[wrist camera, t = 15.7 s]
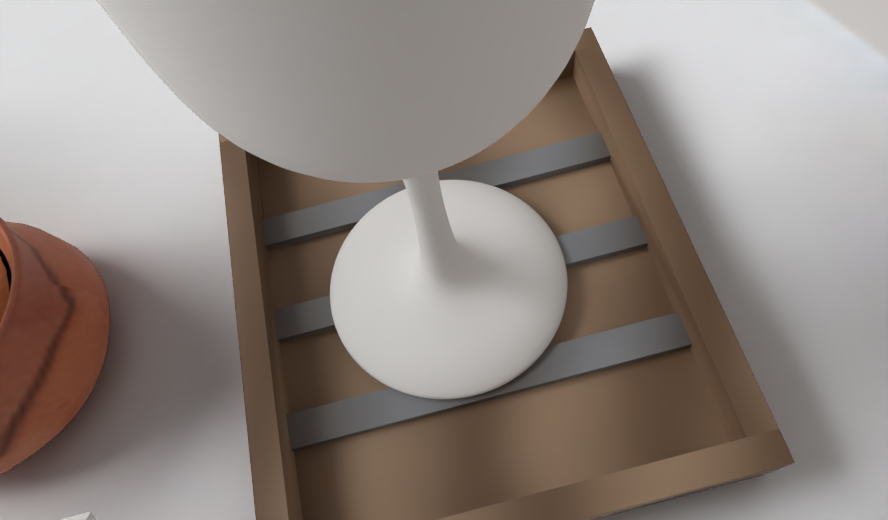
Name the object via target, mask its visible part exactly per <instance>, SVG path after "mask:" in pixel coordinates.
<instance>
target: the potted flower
mask: <svg viewBox="0 0 888 520" xmlns="http://www.w3.org/2000/svg"><path fill="white" fill-rule="evenodd" d="M109 326H110V314H109V300H108V296H107V293H106V289H105V285H104V283H103V281H102V278H101V276H100V274H99V272H98V270H97V269H96V268H95V266H94V265H93V264H92V262H91V261H90V260H89V258H88V257H87V256H85V255H84V254H83V253H82V252H81V251H80V250H78V249H77V248H76V247H74V246H72V245H71V244H69V243H67V242H65V241H63V240H61V239H59V238H57V237H55V236H53V235H51V234H49V233H47V232H45V231H43V230H41V229H38V228H35V227H32V226H29V225H25V224H20V223H12V222H4V220H2V219H1V218H0V474H2V473H4V472H6V471H8V470H10V469H11V468H13V467H14V466H16V465H17V464H19V463H20V462H22V461H23V460H25V459H26V458H28V457H30V456H31V455H32V454H34V453H35V452H36V451H38V450H39V449H41V448H42V447H43V446H44V445H46V444H47V443H48V442H49V441H50V440H52V439H53V438H54V437H55V436H56V435H58V434H59V433H60V432H61V431H62V430H63V429H64V427H65V426H66V425H67V424H68V423H69V422H70V421H71V420H72V419H73V418H74V417H75V415H76V414H77V413H78V411H79V410H80V409H81V407H82V406H83V405H84V403H85V402H86V400H87V398H88V397H89V395H90V393H91V391H92V390H93V388H94V386H95V384H96V382H97V379H98V377H99V375H100V372H101V370H102V367H103V364H104V360H105V356H106V352H107V348H108V338H109Z"/></svg>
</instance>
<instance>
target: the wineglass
mask: <svg viewBox="0 0 888 520" xmlns="http://www.w3.org/2000/svg"><path fill="white" fill-rule="evenodd" d="M97 1H98V3H99V4H100V5H101V7H102V8H103V9H104V11H105V12H106V13H107V15H108V16H109V17H110V19H111V20H112V21H113V22H114V24H115V25H116V26H117V27H118V29H119V30H120V31H121V32H122V34H123V35H124V36H125V37H126V39H127V40H128V41H129V42H130V44H131V45H132V46H133V47H134V49H135V50H136V51H137V52H138V53H139V55H140V56H141V57H142V58H143V59H144V60H145V62H146V63H147V64H148V65H149V66H150V67H151V69H152V70H153V71H154V72H155V73H156V74H157V75H158V77H159V78H160V79H161V80H162V81H163V82H164V83H165V84H166V85H167V86H168V87H169V88H170V89H171V91H172V92H173V93H174V94H175V95H176V96H177V97H178V98H179V99H180V100H181V101H182V102H183V103H184V104H185V105H186V106H187V107H188V108H190V109H191V110H192V111H193V112H194V113H195V114H196V115H197V116H198V117H199V118H200V119H201V120H203V121H204V122H205V123H206V124H207V125H209V126H210V127H211V128H213V129H214V130H215V131H217V132H218V133H220V134H221V135H222V136H224V137H225V138H227V139H228V140H229V141H231V142H232V143H234V144H235V145H237V146H238V147H240V148H242V149H244V150H245V151H247V152H249V153H251V154H253V155H255V156H257V157H259V158H262V159H264V160H266V161H268V162H270V163H272V164H274V165H277V166H279V167H282V168H285V169H287V170H291V171H294V172H297V173H301V174H305V175H309V176H313V177H317V178H322V179H327V180H333V181H340V182H352V183H376V182H390V181H398V180H403V182H404V185H405V187H406V189H404V190H402V191H400V192H397V193H395V194H394V195H392V196H390V197H388V198H386V199H385V200H383V201H382V202H380V203H379V204H377V205H376V206H375V207H374V208H372V209H371V210H370V211H369V212H368V213H366V214H365V215H364V216H363V217H362V218H361V219H360V221H359V222H358V223H357V224H356V225H355V226H354V228H353V229H352V230H351V232H350V233H349V234H348V236H347V238H346V239H345V241H344V243H343V245H342V246H341V248H340V251H339V253H338V255H337V258H336V261H335V264H334V267H333V271H332V276H331V283H330V305H331V312H332V317H333V321H334V324H335V327H336V330H337V332H338V335H339V337H340V339H341V341H342V343H343V345H344V346H345V348H346V350H347V351H348V352H349V354H350V355H351V356H352V358H353V359H354V360H355V361H356V362H357V363H358V364H359V365H360V367H362V368H363V369H364V370H365V371H366V372H367V373H368V374H370V375H371V376H372V377H374V378H375V379H377V380H378V381H380V382H381V383H383V384H385V385H387V386H389V387H391V388H393V389H395V390H397V391H400V392H403V393H406V394H409V395H413V396H417V397H422V398H429V399H458V398H465V397H471V396H475V395H479V394H482V393H485V392H488V391H491V390H493V389H496V388H498V387H500V386H502V385H504V384H506V383H508V382H509V381H511V380H513V379H514V378H516V377H517V376H519V375H520V374H521V373H523V372H524V371H525V370H526V369H528V368H529V367H530V366H531V365H532V364H533V363H534V362H535V361H536V360H537V359H538V358H539V357H540V356H541V354H542V353H543V352H544V351H545V349H546V348H547V347H548V345H549V344H550V342H551V341H552V339H553V337H554V335H555V334H556V332H557V329H558V327H559V325H560V322H561V320H562V317H563V313H564V310H565V305H566V300H567V289H568V281H567V270H566V265H565V260H564V257H563V253H562V251H561V248H560V245H559V243H558V241H557V239H556V237H555V235H554V234H553V232H552V230H551V229H550V227H549V226H548V225H547V223H546V222H545V221H544V220H543V218H542V217H541V216H540V215H539V214H538V213H537V212H536V211H535V210H534V209H533V208H531V207H530V206H529V205H528V204H526V203H525V202H524V201H522V200H521V199H519V198H518V197H516V196H514V195H513V194H511V193H509V192H507V191H505V190H502V189H500V188H497V187H495V186H492V185H488V184H485V183H480V182H475V181H468V180H439V176H438V171H439V170H442V169H445V168H447V167H450V166H452V165H455V164H457V163H459V162H461V161H463V160H466V159H468V158H469V157H471V156H473V155H475V154H477V153H479V152H481V151H482V150H484V149H485V148H487V147H489V146H490V145H492V144H493V143H495V142H496V141H497V140H499V139H500V138H501V137H503V136H504V135H505V134H507V133H508V132H509V131H510V130H511V129H512V128H514V127H515V126H516V125H517V124H518V123H519V122H520V121H521V120H522V119H524V118H525V117H526V116H527V115H528V114H529V113H530V112H531V111H532V110H533V109H534V108H535V107H536V106H537V104H538V103H539V102H540V101H541V100H542V99H543V97H544V96H545V95H546V94H547V92H548V91H549V89H550V88H551V87H552V85H553V84H554V83H555V81H556V80H557V78H558V77H559V76H560V74H561V73H562V71H563V70H564V68H565V67H566V65H567V63H568V61H569V60H570V58H571V56H572V54H573V52H574V50H575V48H576V46H577V44H578V42H579V40H580V37H581V35H582V33H583V31H584V29H585V26H586V24H587V21H588V18H589V15H590V12H591V9H592V6H593V3H594V1H595V0H97Z"/></svg>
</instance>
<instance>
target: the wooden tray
mask: <svg viewBox="0 0 888 520" xmlns="http://www.w3.org/2000/svg"><path fill="white" fill-rule="evenodd" d="M219 143H220V153H221V163H222V174H223V184H224V194H225V205H226V215H227V225H228V236H229V246H230V256H231V266H232V277H233V287H234V297H235V308H236V318H237V328H238V339H239V349H240V359H241V370H242V380H243V390H244V401H245V411H246V421H247V432H248V442H249V452H250V463H251V473H252V483H253V494H254V504H255V514H256V520H593V519H597V518H601V517H604V516H608V515H612V514H616V513H620V512H623V511H627V510H631V509H635V508H638V507H642V506H646V505H650V504H653V503H657V502H661V501H665V500H669V499H672V498H676V497H680V496H684V495H687V494H691V493H695V492H699V491H702V490H706V489H710V488H714V487H718V486H721V485H725V484H729V483H733V482H736V481H740V480H744V479H748V478H752V477H755V476H759V475H763V474H766V473H769V472H771V471H774V470H777V469H779V468H782V467H784V466H787V465H790V464H792V463H795V462H794V460H793V458H792V456H791V454H790V452H789V449H788V447H787V445H786V443H785V441H784V439H783V437H782V434H781V432H780V430H779V428H778V426H777V424H776V422H775V420H774V417H773V415H772V413H771V411H770V409H769V407H768V405H767V402H766V400H765V398H764V396H763V394H762V392H761V390H760V387H759V385H758V383H757V381H756V379H755V377H754V375H753V373H752V370H751V368H750V366H749V364H748V362H747V360H746V358H745V355H744V353H743V351H742V349H741V347H740V345H739V343H738V340H737V338H736V336H735V334H734V332H733V330H732V328H731V325H730V323H729V321H728V319H727V317H726V315H725V313H724V311H723V308H722V306H721V304H720V302H719V300H718V298H717V296H716V293H715V291H714V289H713V287H712V285H711V283H710V281H709V278H708V276H707V274H706V272H705V270H704V268H703V266H702V264H701V261H700V259H699V257H698V255H697V253H696V251H695V249H694V246H693V244H692V242H691V240H690V238H689V236H688V234H687V231H686V229H685V227H684V225H683V223H682V221H681V219H680V217H679V214H678V212H677V210H676V208H675V206H674V204H673V202H672V199H671V197H670V195H669V193H668V191H667V189H666V187H665V184H664V182H663V180H662V178H661V176H660V174H659V172H658V170H657V167H656V165H655V163H654V161H653V159H652V157H651V155H650V152H649V150H648V148H647V146H646V144H645V142H644V140H643V137H642V135H641V133H640V131H639V129H638V127H637V125H636V123H635V120H634V118H633V116H632V114H631V112H630V110H629V108H628V105H627V103H626V101H625V99H624V97H623V95H622V93H621V90H620V88H619V86H618V84H617V82H616V80H615V78H614V76H613V73H612V71H611V69H610V67H609V65H608V63H607V61H606V58H605V56H604V54H603V52H602V50H601V48H600V46H599V43H598V41H597V39H596V37H595V35H594V33H593V31H592V28H591V27H590V28H586V29H584V31H583V33H582V35H581V37H580V40H579V42H578V44H577V46H576V48H575V50H574V52H573V54H572V56H571V58H570V60H569V61H568V63H567V65H566V67H565V68H564V70H563V71H562V73H561V74H560V76H559V77H558V78H557V80H556V81H555V83H554V84H553V85H552V87H551V88H550V89H549V91H548V92H547V94H546V95H545V96H544V97H543V99H542V100H541V101H540V102H539V103H538V104H537V106H536V107H535V108H534V109H533V110H532V111H531V112H530V113H529V114H528V115H527V116H526V117H525V118H524V119H522V120H521V121H520V122H519V123H518V124H517V125H516V126H515V127H514V128H512V129H511V130H510V131H509V132H508V133H507V134H505V135H504V136H503V137H501V138H500V139H499V140H497V141H496V142H495V143H493V144H492V145H490V146H489V147H487V148H485V149H484V150H482V151H481V152H479V153H477V154H475V155H473V156H471V157H469V158H468V159H466V160H463V161H461V162H459V163H457V164H455V165H452V166H450V167H447V168H445V169H442V170H439V171H438V176H439V180H468V181H475V182H480V183H485V184H488V185H492V186H495V187H497V188H500V189H502V190H505V191H507V192H509V193H511V194H513V195H514V196H516V197H518V198H519V199H521V200H522V201H524V202H525V203H526V204H528V205H529V206H530V207H531V208H533V209H534V210H535V211H536V212H537V213H538V214H539V215H540V216H541V217H542V218H543V220H544V221H545V222H546V223H547V225H548V226H549V227H550V229H551V230H552V232H553V234H554V235H555V237H556V239H557V241H558V243H559V245H560V248H561V251H562V253H563V257H564V260H565V265H566V270H567V281H568V289H567V300H566V305H565V310H564V313H563V317H562V320H561V322H560V325H559V327H558V329H557V332H556V334H555V335H554V337H553V339H552V341H551V342H550V344H549V345H548V347H547V348H546V349H545V351H544V352H543V353H542V354H541V356H540V357H539V358H538V359H537V360H536V361H535V362H534V363H533V364H532V365H531V366H530V367H529V368H528V369H526V370H525V371H524V372H523V373H521V374H520V375H519V376H517V377H516V378H514V379H513V380H511V381H509V382H508V383H506V384H504V385H502V386H500V387H498V388H496V389H493V390H491V391H488V392H485V393H482V394H479V395H475V396H471V397H465V398H458V399H429V398H422V397H417V396H413V395H409V394H406V393H403V392H400V391H397V390H395V389H393V388H391V387H389V386H387V385H385V384H383V383H381V382H380V381H378V380H377V379H375V378H374V377H372V376H371V375H370V374H368V373H367V372H366V371H365V370H364V369H363V368H362V367H360V365H359V364H358V363H357V362H356V361H355V360H354V359H353V358H352V356H351V355H350V354H349V352H348V351H347V350H346V348H345V346H344V345H343V343H342V341H341V339H340V337H339V335H338V332H337V330H336V327H335V324H334V321H333V317H332V312H331V305H330V283H331V276H332V271H333V267H334V264H335V261H336V258H337V255H338V253H339V251H340V248H341V246H342V245H343V243H344V241H345V239H346V238H347V236H348V234H349V233H350V232H351V230H352V229H353V228H354V226H355V225H356V224H357V223H358V222H359V221H360V219H361V218H362V217H363V216H364V215H365V214H366V213H368V212H369V211H370V210H371V209H372V208H374V207H375V206H376V205H377V204H379V203H380V202H382V201H383V200H385V199H386V198H388V197H390V196H392V195H394V194H395V193H397V192H400V191H402V190H404V189H406V187H405V185H404V182H403V180H398V181H390V182H376V183H352V182H340V181H333V180H327V179H322V178H317V177H313V176H309V175H305V174H301V173H297V172H294V171H291V170H287V169H285V168H282V167H279V166H277V165H274V164H272V163H270V162H268V161H266V160H264V159H262V158H259V157H257V156H255V155H253V154H251V153H249V152H247V151H245V150H244V149H242V148H240V147H238V146H237V145H235V144H234V143H232V142H231V141H229V140H228V139H227V138H225V137H224V136H222V135H221V134H220V133H219Z"/></svg>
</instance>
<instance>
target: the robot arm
mask: <svg viewBox="0 0 888 520" xmlns="http://www.w3.org/2000/svg"><path fill="white" fill-rule="evenodd" d="M60 520H96V519H95V517H94V515H93V513H92V512H91V511H89V512H85V513H82V514H78V515H75V516H71V517H67V518H64V519H60Z"/></svg>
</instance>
